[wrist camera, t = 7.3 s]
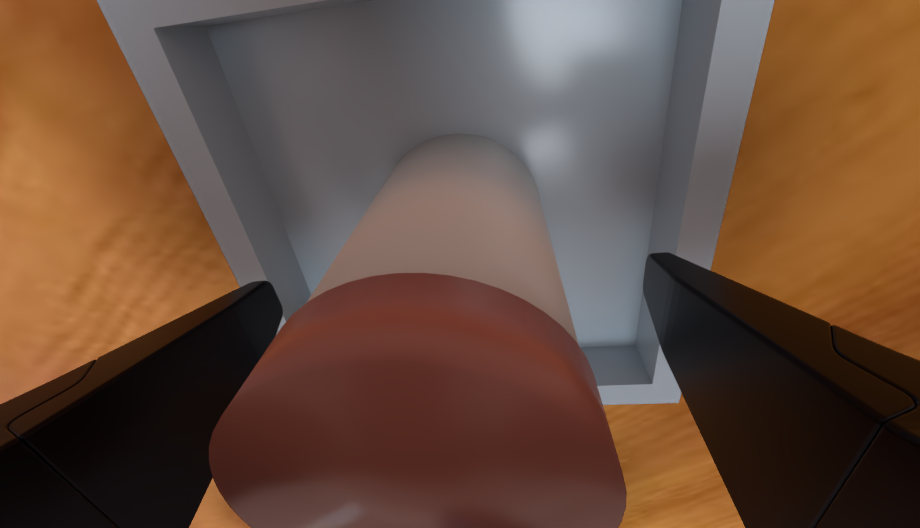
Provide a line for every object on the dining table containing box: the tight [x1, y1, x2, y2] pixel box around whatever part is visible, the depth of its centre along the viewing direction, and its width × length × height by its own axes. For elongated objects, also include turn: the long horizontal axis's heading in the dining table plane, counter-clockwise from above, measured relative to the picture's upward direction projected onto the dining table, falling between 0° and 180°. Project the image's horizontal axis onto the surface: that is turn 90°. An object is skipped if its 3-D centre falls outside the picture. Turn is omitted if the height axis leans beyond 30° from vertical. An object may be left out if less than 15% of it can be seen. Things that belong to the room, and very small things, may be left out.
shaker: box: [209, 134, 626, 528], centre depth 9 cm, size 5×5×9 cm
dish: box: [97, 0, 775, 405], centre depth 12 cm, size 14×14×2 cm
